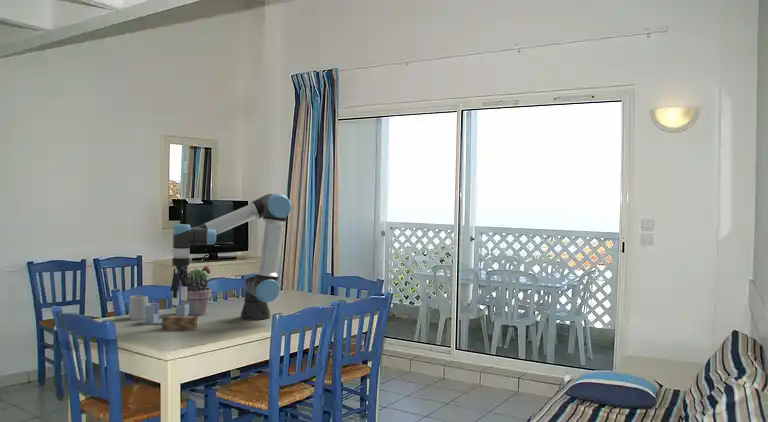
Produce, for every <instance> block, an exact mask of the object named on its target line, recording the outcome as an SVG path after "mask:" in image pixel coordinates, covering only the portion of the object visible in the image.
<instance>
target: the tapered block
mask: <svg viewBox="0 0 768 422" xmlns="http://www.w3.org/2000/svg"><path fill="white" fill-rule="evenodd" d="M161 319H162V325H161V331H196V330H197V329H198V316H188V315H187V316H176V315H164V316H162V317H161Z"/></svg>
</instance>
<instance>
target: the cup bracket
mask: <svg viewBox="0 0 768 422" xmlns="http://www.w3.org/2000/svg"><path fill="white" fill-rule="evenodd" d="M159 312H160V303H158V302H149V304H147V305H145V316H146V319H145V321H143V322H142V326H145V325H146V326H162V318H159ZM188 314H189V304H183V303H179V305H175V316H188Z"/></svg>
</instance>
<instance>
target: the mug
mask: <svg viewBox="0 0 768 422" xmlns="http://www.w3.org/2000/svg"><path fill="white" fill-rule="evenodd" d="M149 301H150V300H149V299H148V296H147V295H142V294H140V295H131V296H129V305H128V307H129V309H128V310H129V312H128V313H129V314H128V319H129V320H132V321H141V319H142V320H146V316H145V305H147V304H149V303H150V302H149Z"/></svg>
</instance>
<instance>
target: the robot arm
mask: <svg viewBox="0 0 768 422" xmlns="http://www.w3.org/2000/svg"><path fill="white" fill-rule="evenodd" d="M291 210H292V204H291V201H290V199H289V198H288V197H287V196H286V195H283V194H280V193H267V194H265V195H263V196H262V195H261V196H260V197H259V198H256V199H254V200H251V201H250V202H249V204H248V205H245V206H244V207H243V206H242V207H240V208H238V209H236V210H233V211H232V212H231V211H230V212H229V213H226V214H224V215H221V216H220V217H217V218H214V219H212V220H210V221H207V222H204V223H203V224H200V225H198V226H192V227H191V225H190V224H188V223H187V224H185V223H184V224H183V223H180V224H179V223H176V224H175V225H173V232H172V235H173V236H172V250H171V252H172V259H171V260H172V262H171V263H172V266H173V267H176V268H173V273H172V281H171V285H170V286H171V287H170V291H171V292H172V295H171V305H172V306H180V302H179V301H183V300H187V286H189V281H188V273H189V271H188V267H189V266H190V255H191V253H190V252H191V251H190V247H191V245H203V246H205V245H208V246H209V245H215V243H216V242H217V235H220V234H221V233H224V232H227V231H229V230H231V229H233V228H235V227H238V226H240V225H242V224H245V223H247V222H249V221H252V220H255V219H256V220H259V219H261V218H262V220H263V222H264V223H265V224H264V231H263V238H262V244H261V245H262V247H261V252H260V259H259V267H258V270H257V271H256V272H255V273H246V274H245V275H244V279H243V280H244V297H243V299H244V301H243V306H242V309H241V312H240V319H242V320H247V319H251V321H259V319H262V320H268V319H270V318H271V312H270V307H269V304H268V303H271V302H273V301H275V300H276V299H277V298H278V296H279V295H280V293H281V292H280V291H281V287H280V284H279V283H278V282H279V277H280V276H279V274H278V273H277V270H278V269H277V267H278V263H279V262H278V260H279V255H280V254H279V252H280V246H281V240H282V239H281V238H282V230H283V225H284V224H286V223H287V217H288V215H289V214H290V213H291ZM180 285H181V286H180ZM179 287H180V288H181V289H180V288H179ZM180 290H181V292H180ZM267 318H268V319H267Z"/></svg>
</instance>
